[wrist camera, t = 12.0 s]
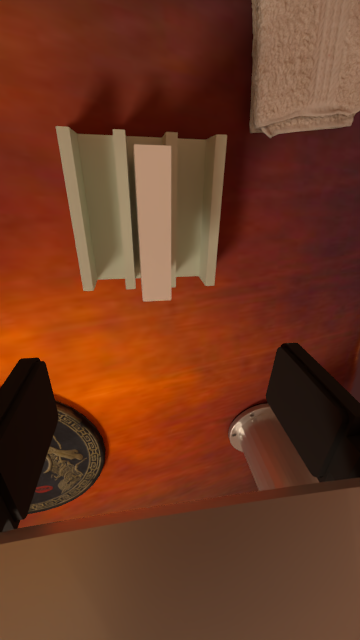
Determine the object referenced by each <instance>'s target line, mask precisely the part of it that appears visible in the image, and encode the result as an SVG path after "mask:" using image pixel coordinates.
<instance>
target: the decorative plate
mask: <svg viewBox="0 0 360 640" xmlns="http://www.w3.org/2000/svg"><path fill="white" fill-rule="evenodd" d="M55 403H56V406H57V410H58V423H57V426H56V429H55V432H54V435H53V438H52V441H51V444H50V447H49V450H48V454H47V457H46V460H45V463H44V466H43V469H42V472H41V475H40V478H39V481H38V484H37V487H36V490H35V493H34V496H33V499H32V502H31V505H30V508H29V511H28V514H31V513H36V512H41V511H46V510H49V509H52V508H56V507H59V506H61V505H63V504H66V503H68V502H70V501H72V500H74V499H76V498H77V497H79V496H80V495H82V494H83V493H85V492H86V491H87V490H88V489H89V488H90V487H91V486H92V485H93V484H94V483H95V481H96V480H97V478H98V477H99V476H100V474H101V471H102V468H103V465H104V462H105V446H104V442H103V438H102V436H101V435H100V433H99V431H98V430H97V428H96V427H95V426H94V425H93V424H92V423H91V422H90V421H89V420H88V419H87V418H86V417H85V416H84V415H82V414H81V413H79V412H78V411H76V410H75V409H73V408H72V407H70V406H67V405H65V404H63V403H60V402H58V401H56V400H55Z"/></svg>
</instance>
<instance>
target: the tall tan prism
mask: <svg viewBox="0 0 360 640" xmlns="http://www.w3.org/2000/svg"><path fill="white" fill-rule="evenodd" d="M133 158H134V175H135V192H136V209H137V226H138V243H139V260H140V274H141V285H142V297H143V301H162V300H171V146H165V145H139V144H134V155H133Z"/></svg>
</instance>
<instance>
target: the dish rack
mask: <svg viewBox="0 0 360 640" xmlns="http://www.w3.org/2000/svg"><path fill="white" fill-rule="evenodd" d="M56 131H57V137H58V143H59V149H60V155H61V161H62V167H63V173H64V178H65V184H66V190H67V196H68V202H69V208H70V214H71V220H72V226H73V231H74V237H75V243H76V249H77V255H78V261H79V267H80V273H81V279H82V284H83V290H84V291H93V290H94V288H95V285H96V282H97V279H125V281H126V289H136V285H135V278H141V274H140V260H139V243H138V226H137V209H136V192H135V175H134V158H133V155H134V144H139V145H165V146H171V287H176V277H182V276H199V277H200V279H201V280H202V281H203V283H204V284H205V286H214V282H215V271H216V259H217V247H218V236H219V224H220V213H221V201H222V190H223V178H224V167H225V155H226V144H227V135H220V134H216V135H214V136H212V137H210V138H209V139H207V140H200V139H179V138H178V132H165V134H164V135H163V137H162V138H157V137H136V136H126V134H125V130H120V129H113V135H93V134H77V133H76V132H74V131H73V130H72V129H71V128H70V127H60V126H56Z"/></svg>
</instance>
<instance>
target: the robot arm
mask: <svg viewBox="0 0 360 640" xmlns="http://www.w3.org/2000/svg"><path fill="white" fill-rule="evenodd" d="M266 400H267V404H260V405H256V406H254V407H251V408H249V409H247V410H245V411H244V412H242V413H241V414H240V415H239V416H238V417H237V418H235V420H234V421H233V422H232V424H231V426H230V428H229V432H228V436H229V439H230V442H231V444H232V446H233V447H234V448H235V449H237V450H239V451H242V452H244V455H245V457H246V460H247V462H248V465H249V467H250V470H251V472H252V474H253V477H254V479H255V482H256V484H257V487H258V489H259V491H256V492H249V493H242V494H235V495H228V496H222V497H215V498H208V499H201V500H195V501H188V502H181V503H174V504H168V505H161V506H155V507H148V508H141V509H135V510H128V511H122V512H115V513H109V514H102V515H96V516H89V517H83V518H76V519H71V520H65V521H59V522H53V523H47V524H41V525H36V526H30V527H24V528H18V525H19V522H20V520H22V519H25V518H26V516H27V514H28V511H29V508H30V505H31V502H32V499H33V496H34V493H35V490H36V487H37V484H38V481H39V478H40V475H41V472H42V469H43V466H44V463H45V460H46V457H47V454H48V450H49V447H50V444H51V441H52V438H53V435H54V432H55V429H56V426H57V423H58V410H57V406H56V403H55V399H54V395H53V391H52V387H51V383H50V379H49V375H48V371H47V367H46V364H45V362H44V361H40V359H39V358H24V359H20V360H19V361H18V363H17V364H16V366H15V367H14V369H13V370H12V372H11V373H10V375H9V376H8V378H7V379H6V381H5V382H4V384H3V385H2V387H1V388H0V640H360V403H359V402H358V401H357V400H356V399H355V398H354V397H353V396H352V395H351V394H350V393H349V392H348V391H347V390H346V389H344V388H343V387H342V386H341V385H340V384H339V383H338V382H337V381H336V380H335V379H334V378H333V377H332V376H331V375H330V374H329V373H328V372H327V371H326V370H325V369H324V368H323V367H322V366H321V365H320V364H319V363H318V362H317V361H316V360H315V359H314V358H313V357H311V356H310V355H309V354H308V353H307V352H306V351H305V350H304V349H303V348H302V347H301V346H300V345H299V344H298V343H284V344H282V345H281V347H279V348H278V349H277V352H276V356H275V360H274V365H273V369H272V373H271V377H270V381H269V385H268V389H267V393H266ZM17 528H18V529H17Z"/></svg>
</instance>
